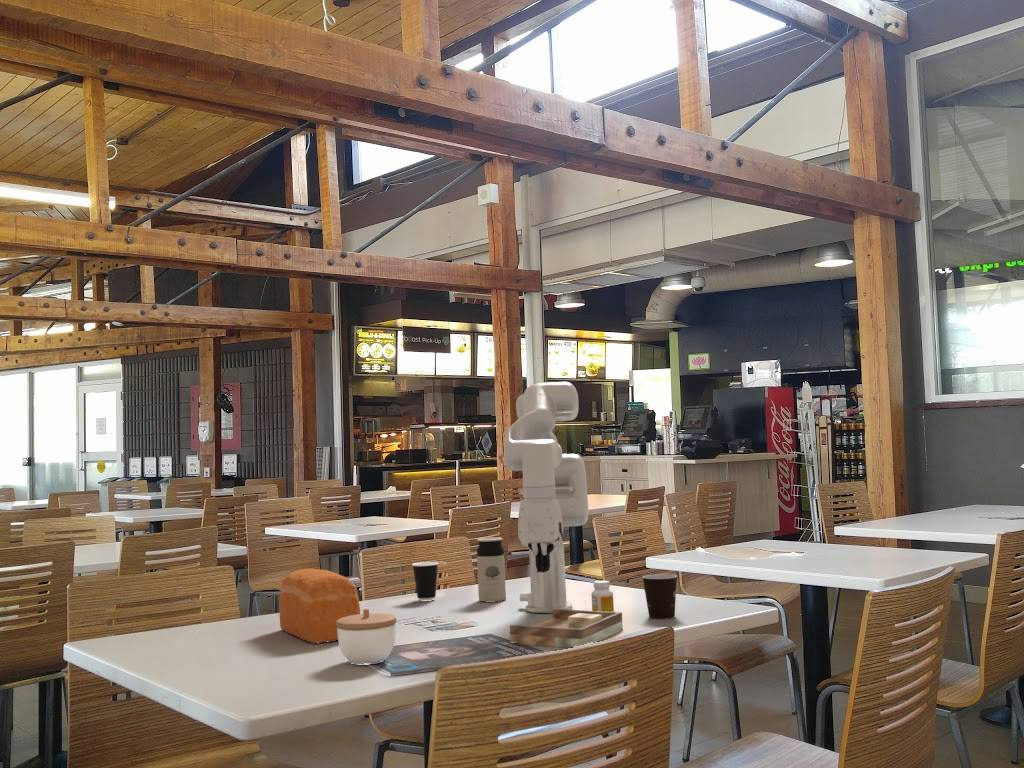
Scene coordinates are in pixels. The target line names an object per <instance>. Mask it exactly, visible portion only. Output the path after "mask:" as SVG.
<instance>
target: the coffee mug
mask: <svg viewBox="0 0 1024 768" xmlns="http://www.w3.org/2000/svg"><path fill="white" fill-rule="evenodd" d="M677 580H678V576H677V575H675V574H670V573H669V574H667V573H663V574H662V573H660V574H659V573H657V574H648V575H647V574H646V575H643V576H642V583H643V586H644V587H643V588H644V594H645V600H646V607H647V613H648V617H649V618H650V619H654V620H655V619H656V620H666V619H665V618H668V619H672V618H671V617H673V618H675V617H676V613H675V612H676V601H677V598H676V597H677V585H678V584H677V583H678V582H677ZM674 616H675V617H674Z"/></svg>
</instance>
